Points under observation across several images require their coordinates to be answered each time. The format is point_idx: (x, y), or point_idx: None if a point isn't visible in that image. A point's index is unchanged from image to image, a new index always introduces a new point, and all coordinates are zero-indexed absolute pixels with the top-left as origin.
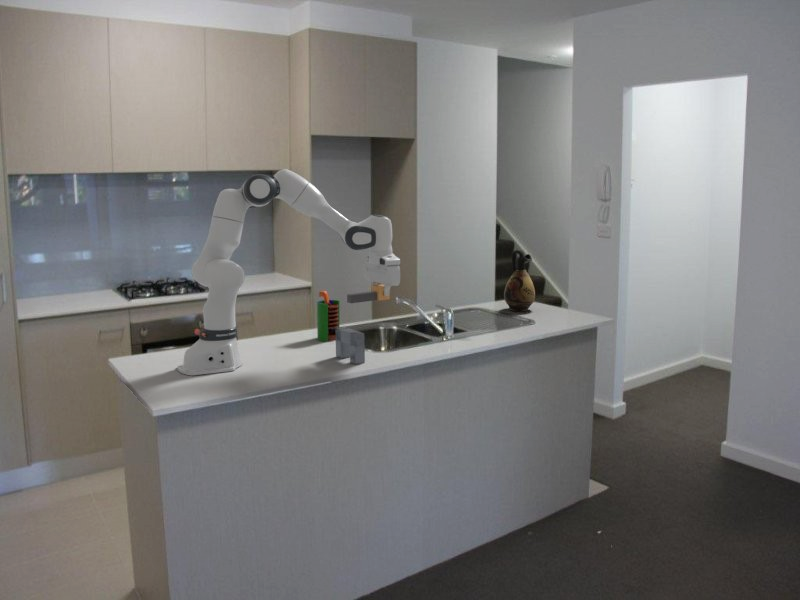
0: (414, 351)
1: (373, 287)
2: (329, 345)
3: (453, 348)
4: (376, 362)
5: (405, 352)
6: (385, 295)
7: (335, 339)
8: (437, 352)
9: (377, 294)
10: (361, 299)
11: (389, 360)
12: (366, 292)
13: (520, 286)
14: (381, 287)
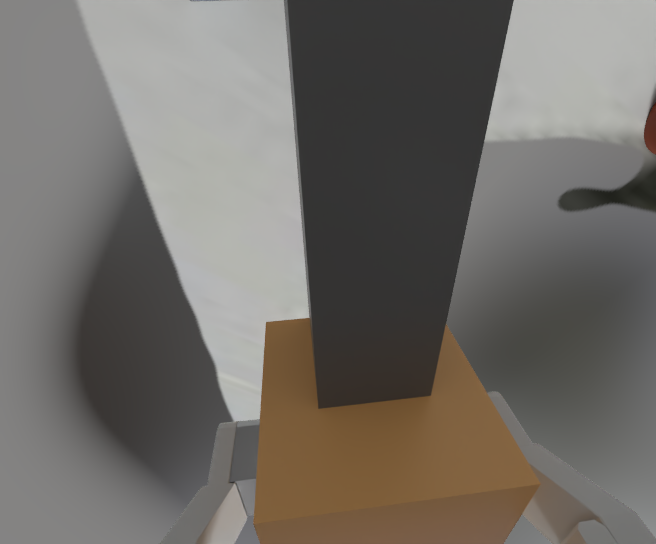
0: (278, 297)
1: (449, 463)
2: (612, 35)
3: (250, 395)
4: (176, 70)
5: (281, 267)
6: (219, 431)
7: (650, 121)
8: (227, 346)
9: (301, 380)
10: (286, 24)
11: (188, 149)
12: (413, 264)
13: None
14: (265, 541)
